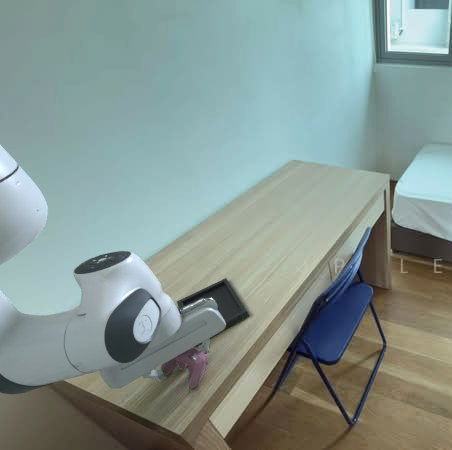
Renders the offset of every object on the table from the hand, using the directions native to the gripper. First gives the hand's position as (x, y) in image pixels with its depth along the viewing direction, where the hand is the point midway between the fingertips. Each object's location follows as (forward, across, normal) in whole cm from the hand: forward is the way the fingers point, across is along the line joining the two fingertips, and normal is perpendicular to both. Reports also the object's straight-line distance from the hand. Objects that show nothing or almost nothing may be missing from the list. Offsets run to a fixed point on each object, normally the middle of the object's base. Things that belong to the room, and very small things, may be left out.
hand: (184, 364), depth 65 cm
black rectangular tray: (+2, -9, -14) cm, 17 cm away
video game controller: (+3, 0, 0) cm, 3 cm away
